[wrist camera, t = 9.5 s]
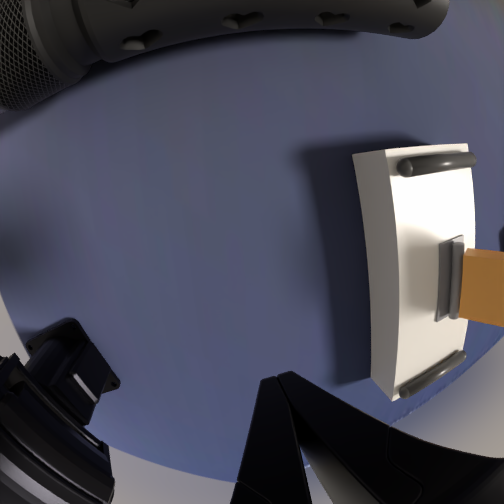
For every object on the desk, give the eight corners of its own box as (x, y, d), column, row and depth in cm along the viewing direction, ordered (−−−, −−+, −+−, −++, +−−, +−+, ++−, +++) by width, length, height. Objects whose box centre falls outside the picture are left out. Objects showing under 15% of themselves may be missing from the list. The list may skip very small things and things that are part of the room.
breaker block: (370, 377, 23) (399, 409, 18) (351, 154, 18) (397, 147, 13) (437, 341, 24) (467, 364, 19) (433, 145, 19) (478, 143, 14)
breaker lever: (445, 320, 18) (542, 340, 10) (449, 246, 16) (561, 260, 9) (451, 310, 18) (543, 328, 11) (455, 240, 17) (558, 252, 9)
